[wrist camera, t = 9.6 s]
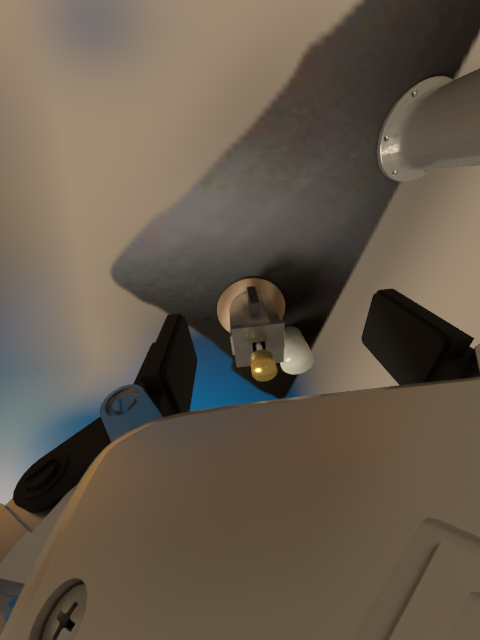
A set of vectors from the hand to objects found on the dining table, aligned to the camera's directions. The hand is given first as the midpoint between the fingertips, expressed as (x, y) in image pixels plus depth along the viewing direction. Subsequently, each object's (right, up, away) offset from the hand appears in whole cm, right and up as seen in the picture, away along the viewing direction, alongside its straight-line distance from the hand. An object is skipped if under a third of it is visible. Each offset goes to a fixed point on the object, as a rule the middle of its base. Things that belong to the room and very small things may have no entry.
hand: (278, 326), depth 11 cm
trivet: (+1, +3, +39) cm, 39 cm away
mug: (+11, -5, +45) cm, 46 cm away
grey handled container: (+1, +4, +38) cm, 38 cm away
